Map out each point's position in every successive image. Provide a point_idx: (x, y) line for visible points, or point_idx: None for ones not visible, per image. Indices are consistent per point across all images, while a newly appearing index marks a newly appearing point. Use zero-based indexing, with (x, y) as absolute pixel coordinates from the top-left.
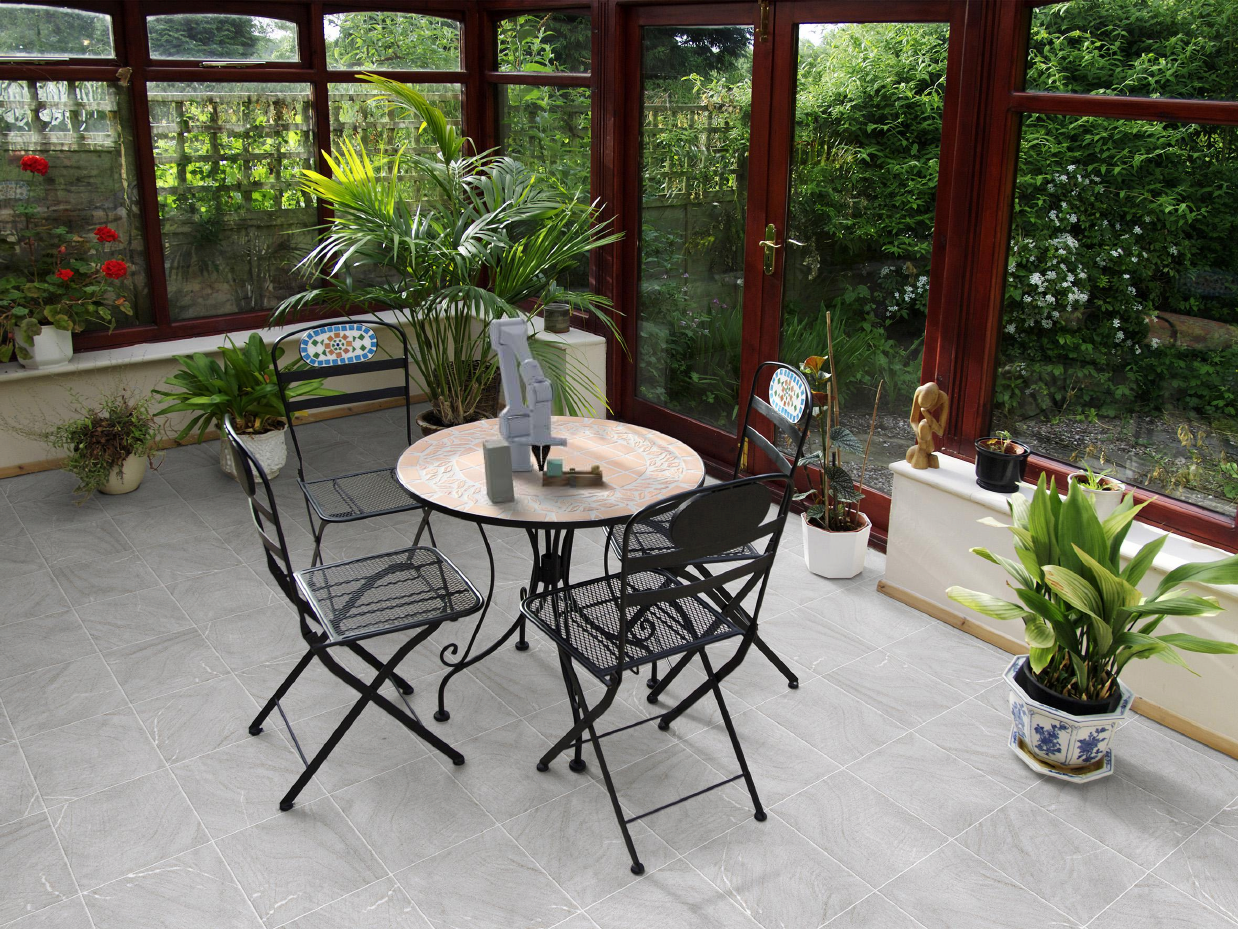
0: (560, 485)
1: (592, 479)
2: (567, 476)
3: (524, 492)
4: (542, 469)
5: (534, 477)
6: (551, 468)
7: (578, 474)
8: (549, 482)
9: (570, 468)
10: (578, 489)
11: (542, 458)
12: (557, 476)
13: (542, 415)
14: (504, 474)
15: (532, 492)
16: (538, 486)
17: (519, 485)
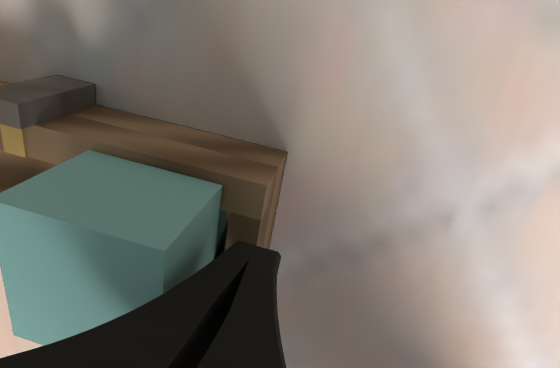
0: (153, 120)
1: None
2: (52, 129)
3: (476, 37)
4: (241, 250)
5: (309, 328)
6: (142, 206)
7: None
8: (222, 148)
9: None
10: (31, 18)
11: (182, 327)
12: (133, 150)
13: None
14: None
15: (400, 20)
16: (315, 160)
17: (458, 222)
